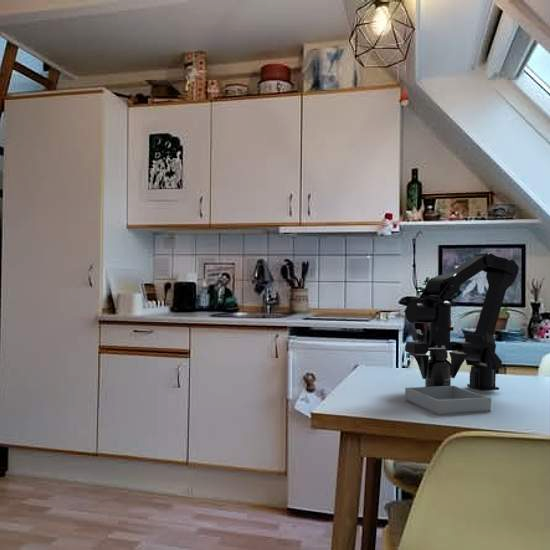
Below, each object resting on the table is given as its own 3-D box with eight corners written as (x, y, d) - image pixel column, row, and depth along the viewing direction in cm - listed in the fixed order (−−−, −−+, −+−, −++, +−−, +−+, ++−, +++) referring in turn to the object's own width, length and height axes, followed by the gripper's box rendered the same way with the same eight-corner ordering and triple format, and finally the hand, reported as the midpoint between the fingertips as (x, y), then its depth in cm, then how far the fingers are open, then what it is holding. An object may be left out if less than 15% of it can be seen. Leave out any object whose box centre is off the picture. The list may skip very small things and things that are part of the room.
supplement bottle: (452, 396, 141) (452, 352, 142) (426, 395, 143) (426, 351, 143) (448, 391, 148) (449, 349, 148) (424, 390, 150) (424, 348, 150)
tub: (453, 398, 139) (454, 385, 139) (490, 412, 125) (490, 398, 125) (405, 401, 135) (405, 387, 135) (437, 415, 121) (437, 400, 121)
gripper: (451, 320, 156) (450, 372, 156) (395, 320, 151) (394, 374, 151) (475, 323, 145) (474, 379, 145) (416, 323, 140) (414, 381, 140)
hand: (438, 378), depth 145 cm, fingers open, 9 cm apart
